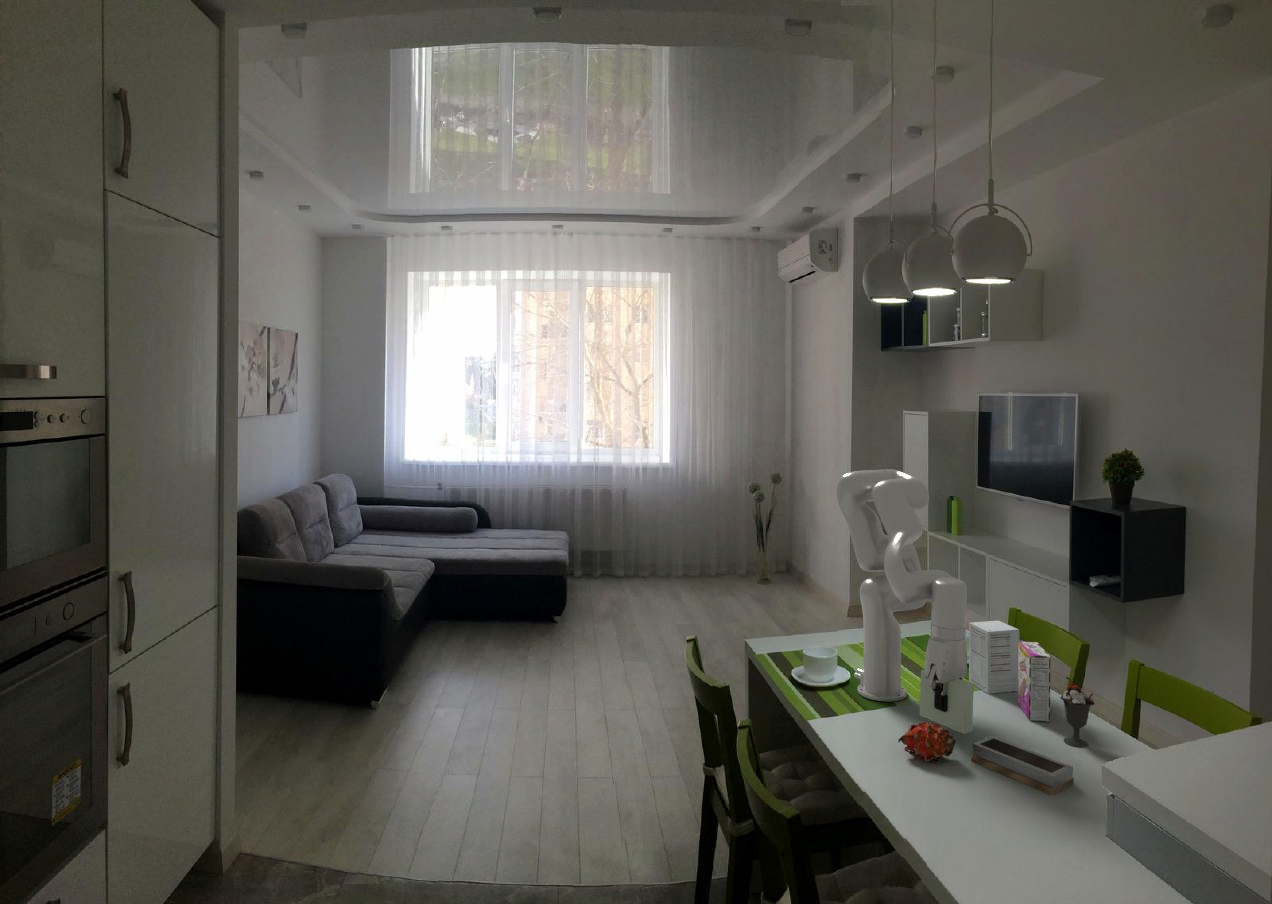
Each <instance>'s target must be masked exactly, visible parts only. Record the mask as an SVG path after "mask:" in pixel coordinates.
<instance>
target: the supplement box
mask: <svg viewBox="0 0 1272 904" xmlns="http://www.w3.org/2000/svg"><path fill="white" fill-rule="evenodd" d="M968 623H969V625H968V626H969V627H968V628H969V630H968V631H969V633H968V635H969V636H968V646H969V649H968V651H969V652H968V666H969V667H968V670H969V671H968V682H969V683H971V684H974V687H977V688H978V689H980V690H981V691H983V692H985V693H986V694H999V693H1000V694H1001V693H1002V692H1003V693H1012V692H1011V691H1016V692H1018V642H1020V629H1018V628H1016V627H1015V626H1012V625H1009V624H1007V623H1005V622H1003V621H1001V620H989V621H986V620H985V621H975V622H968Z"/></svg>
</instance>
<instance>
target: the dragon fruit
mask: <svg viewBox="0 0 1272 904" xmlns="http://www.w3.org/2000/svg"><path fill="white" fill-rule="evenodd" d="M897 741H898V743H902V744H903V745H904V746H905V747H904V748H903V749H904V751H905V752H907V753H908V754H909V755H915V756H917V757H919V758H920V757H924V761H925V762H930V761H933V759H934V760H935V761H939V760H941V758H942V756H944V757H950V756H951V754H952V753H953V751H954V748H955V745H956V743H957V741H956V739H955V737H954V736H953V734H952V733H950V731H949V730H948V729H947V728H945V727H941V724H939V723H937V722H935V721H932V722H928V723H927V721H920V722H918V724H912V725H911V727H910V728H908V730H907V731H905V733H904V734H903V735H902V736H901V737H899V738H898V740H897Z"/></svg>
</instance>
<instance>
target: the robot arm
mask: <svg viewBox="0 0 1272 904" xmlns="http://www.w3.org/2000/svg"><path fill="white" fill-rule="evenodd" d="M837 481H838V482H837V485H836V499H837V503H838V507H839V508H840V511H841V514H842V515H843V517H844V520H845V522H846V524H847V527H848V530H849V535H850V538H851V542H852V546H853V549H854V555H855V558H856V561H857V563H858V564H857V565H858V566H859V568H860V569H861V570H862V571H865V572H870V573H874V572H875V573H876V572H884V573H885V574H883V575H874V576H871V577H869V578H866V579H865V580H863V581H862V583H861V585H860V587H859V599H860V605H861V610H862V618H863V619H862V620H863V621H862V622H863V623H862V624H863V625H862V626H863V669H862V668H857V669H856V671H855V672H854V674H853V677H854V678H855V679H858V680H859V682H860V683H859V684H858V685H857V693H858V694H859V695H860V696H861V697H864V698H865V699H869V700H872V701H875V702H876V701H878V702H886V703H887V702H888V703H889V702H898V701H902V700H904V699H905V698H907V696H908V690H907V689H906V688H905V687H904V686H903V685H902V630H901V624H900V623H899V622H898V620H897V619H896V617H895V616H894V612H901V611H902V612H903V611H911V610H917V609H920V608H923V606H924V605H926V603H931V609H930V610H931V611H930V613H931V615H930V617H931V619H930V637H929V638H928V641H927V645H926V651H925V659H924V660H925V661H924V670H925V672H924V674H925V678H927V679H928V681H927V684H926V685H927V686H928V687H930V688H932V689H933V692H934V693H935V694H934V708H936V709H938V710H940V711H943V712H947V705H948V695H946V689H947V682H950V681H953V680H955V679H960V680H963V679H964V678H966V676H967V670H968V649H967V648H968V647H967V640H966V636H967V634H966V633H967V602H968V601H967V600H968V599H967V598H968V585H967V584H966V582H965V581H963V580H962V579H960V578H957V577H953V576H952V575H951V574H949V572H947V571H945V570H941V569H928V570H927V569H925V570H923V569H922V566H921V563H920V559H919V556H918V553H917V549H916V547H915V545H914V542H916V541H917V540H918V539H920V538H921V536H922V534H923V532H924V529H923V528H924V527H923V526H922V524H921V522H920V519H919V517H918V515H917V512H916V511H921V510H924V509H925V508H926V507H927V506H928V504H929V501H930V493H929V492H930V491H929V490H928V487H927V485H926V484H925V483H924V482H923V481H922V480H921V479H919V478H918V477H916V476H913V475H911V474H908V473H906V472H903V471H900V470H897V469H892V468H891V469H889V468H888V469H866V470H865V469H864V470H856V471H855V470H854V471H850V472H847V473H845V474H843V475H841V477H839V479H838V480H837ZM866 502H873V505H874V507H875V508H876V511H877V514H878V515H877V514H876V512H875V511H874V510H873V508H871V506H869V505H868V504H866ZM881 523H882V524H881ZM882 525H883V527H884V530H885V532H884V530H883V527H882ZM885 533H886V534H885ZM938 684H942V687H940V686H939V685H938Z"/></svg>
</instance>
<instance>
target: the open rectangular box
mask: <svg viewBox="0 0 1272 904" xmlns="http://www.w3.org/2000/svg"><path fill="white" fill-rule="evenodd" d="M971 752H972V753H971V755H970V762H973V763H976V764H977V765H981V766H982V767H984V768H987V769H990V770H992V771H995V772H996V773H999V774H1001V775H1004V776H1006V777H1008V778H1011V779H1013V780H1015V781H1018V782H1020V783H1023V784H1025V785H1027V786H1030V787H1032V788H1035V789H1036V790H1040V791H1042V792H1043V793H1046V794H1049V795H1051V796H1052V795H1054V794H1056V793H1059V792H1060V791H1062V790H1064V789H1067V788H1068V787H1070V786H1072V785H1074V784H1075V778H1074V766H1072V765H1069V764H1067V763H1064V762H1062V761H1059V760H1057V759H1054V758H1051V757H1048V756H1045V755H1044V754H1040V753H1038V752H1035V751H1033V750H1030V749H1028V748H1025V747H1023V746H1020V745H1017V744H1014V743H1012V742H1009V741H1007V740H1005V739H1002V738H998V737H996V736H994V735H990V736H989V737H986V738H983V739H981V740H978V741H975V742H973V743H972V751H971Z"/></svg>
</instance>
